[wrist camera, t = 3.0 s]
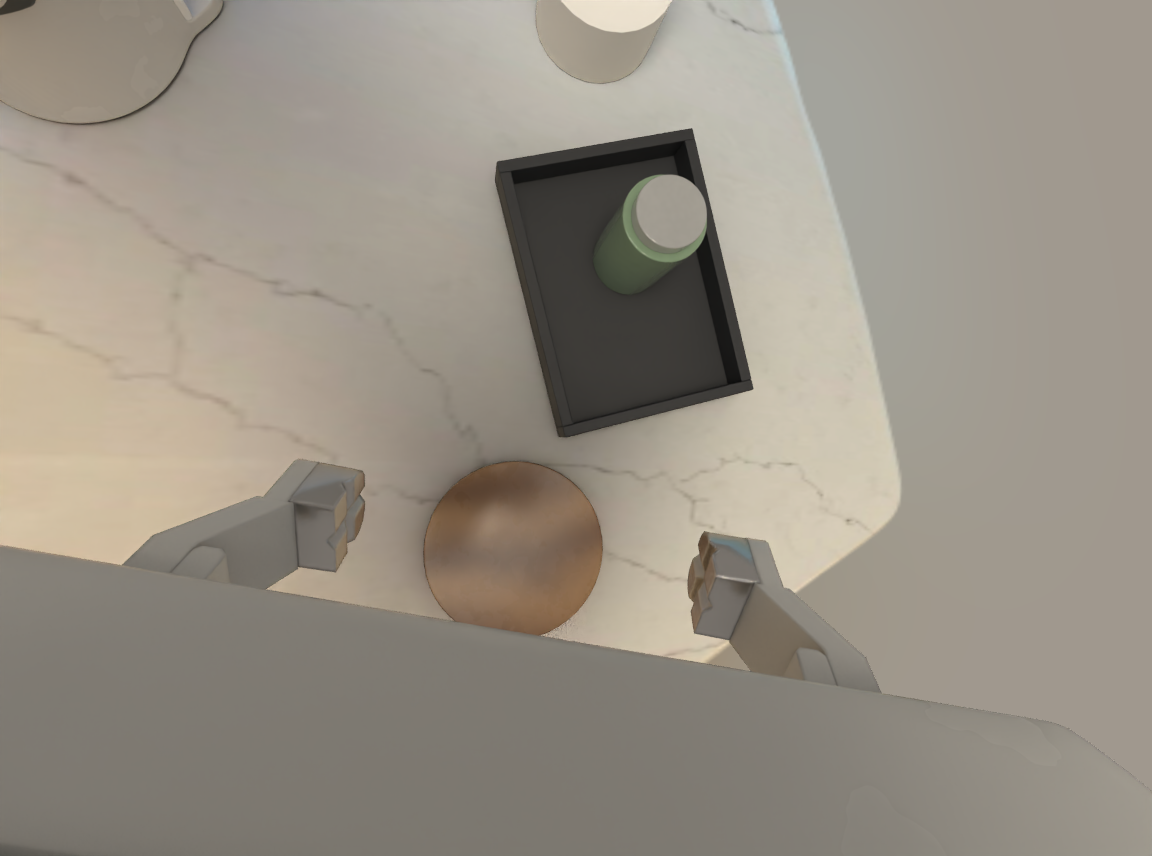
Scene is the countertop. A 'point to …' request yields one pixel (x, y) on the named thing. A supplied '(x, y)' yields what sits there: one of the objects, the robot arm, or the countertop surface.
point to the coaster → (513, 548)
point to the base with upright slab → (598, 35)
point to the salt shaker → (650, 233)
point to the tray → (604, 317)
